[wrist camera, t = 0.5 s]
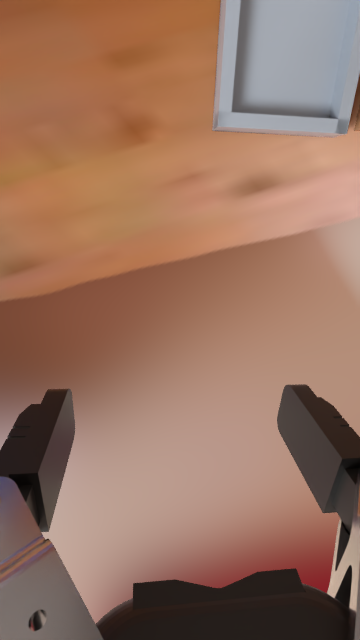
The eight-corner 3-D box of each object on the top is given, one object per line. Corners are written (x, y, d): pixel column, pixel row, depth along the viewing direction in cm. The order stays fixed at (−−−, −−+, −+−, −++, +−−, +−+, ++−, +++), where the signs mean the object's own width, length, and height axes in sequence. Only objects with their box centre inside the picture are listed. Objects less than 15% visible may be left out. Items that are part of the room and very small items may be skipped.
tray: (226, -97, 26) (235, -124, 23) (374, -76, 27) (395, -101, 25) (212, 130, 32) (217, 126, 30) (332, 137, 33) (346, 133, 31)
